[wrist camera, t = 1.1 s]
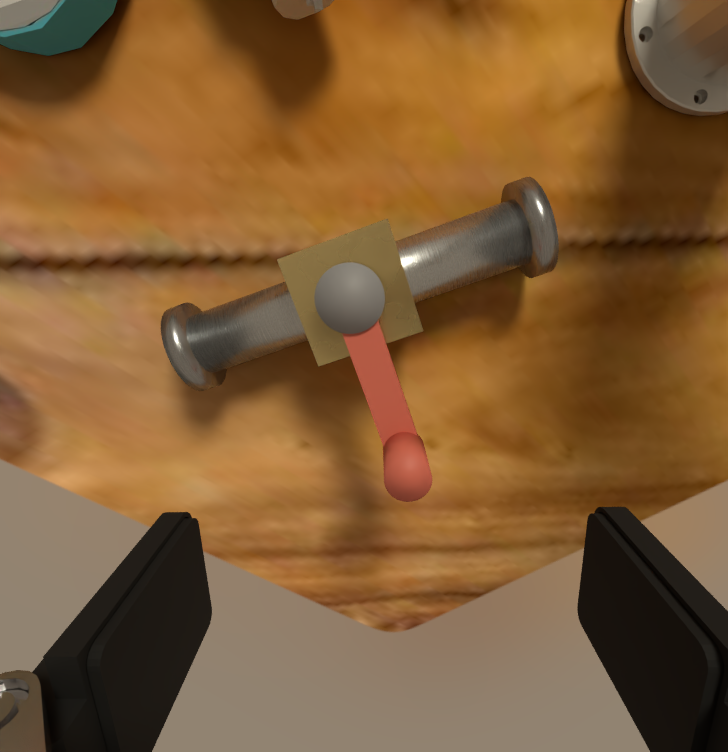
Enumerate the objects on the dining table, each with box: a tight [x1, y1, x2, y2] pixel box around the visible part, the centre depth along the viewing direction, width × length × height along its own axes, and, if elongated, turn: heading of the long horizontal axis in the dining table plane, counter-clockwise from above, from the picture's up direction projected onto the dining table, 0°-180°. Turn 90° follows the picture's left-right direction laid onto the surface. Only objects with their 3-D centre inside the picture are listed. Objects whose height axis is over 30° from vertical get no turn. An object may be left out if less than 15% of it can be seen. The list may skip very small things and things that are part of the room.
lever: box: [314, 262, 432, 502], centre depth 25 cm, size 13×4×5 cm, turn 19°
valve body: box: [161, 177, 558, 391], centre depth 30 cm, size 26×7×8 cm, turn 109°
